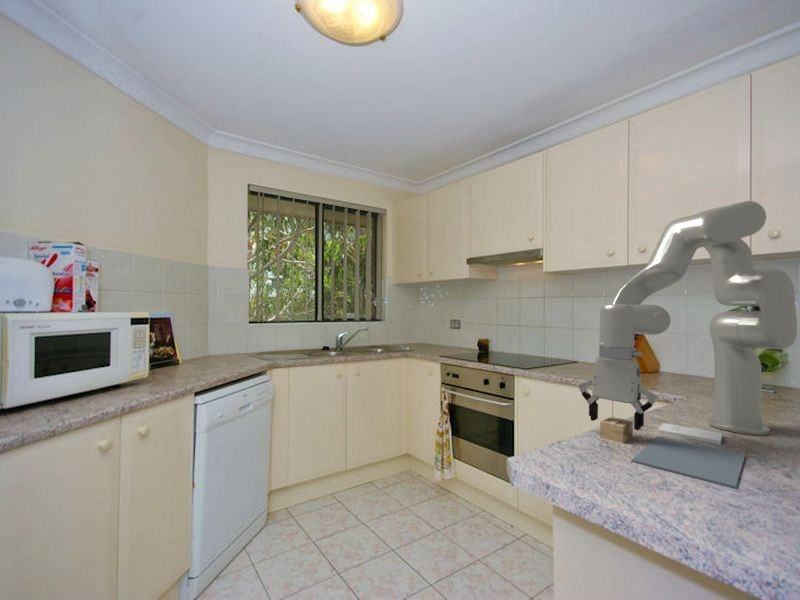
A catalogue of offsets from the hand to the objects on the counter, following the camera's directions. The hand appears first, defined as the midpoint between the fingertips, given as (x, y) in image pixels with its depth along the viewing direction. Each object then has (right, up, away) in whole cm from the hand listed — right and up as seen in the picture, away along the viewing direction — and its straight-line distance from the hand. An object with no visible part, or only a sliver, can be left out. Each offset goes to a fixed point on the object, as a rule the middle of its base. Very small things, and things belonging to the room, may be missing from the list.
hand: (615, 424), depth 93 cm
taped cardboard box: (0, -3, 0) cm, 3 cm away
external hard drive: (+21, -5, +3) cm, 22 cm away
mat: (+8, -3, -13) cm, 16 cm away
